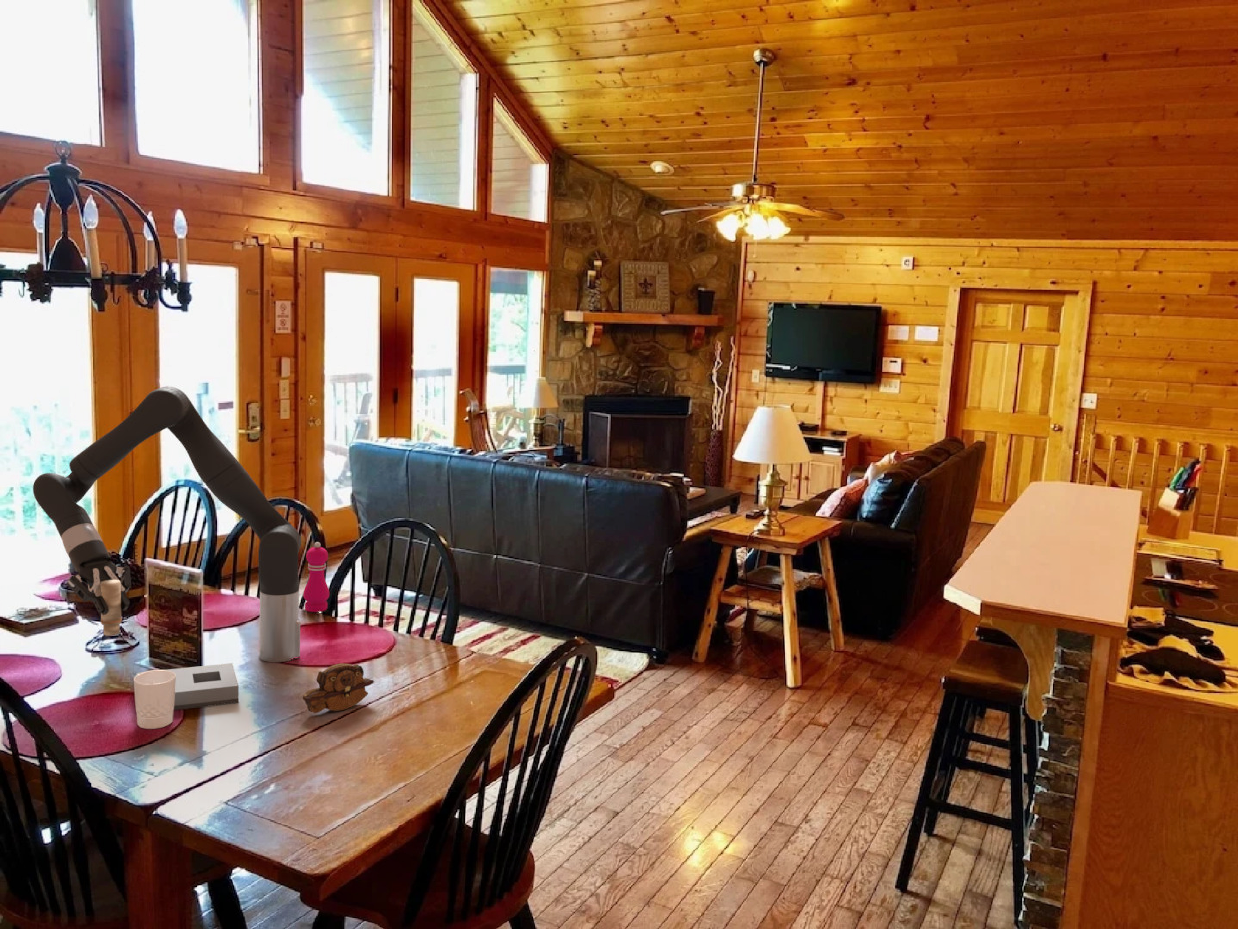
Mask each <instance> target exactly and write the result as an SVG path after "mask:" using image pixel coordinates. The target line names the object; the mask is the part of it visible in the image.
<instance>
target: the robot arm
mask: <svg viewBox="0 0 1238 929" xmlns="http://www.w3.org/2000/svg"><path fill="white" fill-rule="evenodd" d="M165 429H167V430H169V432H171V433H172V435H173V436H175V438H176V439H177V440H178V441H179V442H180V444H181V445H182V447H183V448H184V449H185V452H186V453H187V454H188V456H189V460H190V461H191V463H192V466H193V468H194V469H195V471H196V473H197V474H198V476H199V478H200V479H201V481H202V482H203V483H204V484H205V486H206V487H207V488H208V489H209V490H210V492H211V493H212V494H213V495H214V496H215V497H216V498H217V499H218V501H220V503H221V504H223V505H224V506H225V507H226V508H228V509H229V510H231V511H233V513H235V514H237V515H238V516H239V517H241V518H242V519H243V520H244V521H245V522H246V523H247V524H248V525H249V528H251V529H252V531H254V532H253V533H255V535H256V536H257V537H258V539H259V541H260V542H259V543H258V544H259V545H258V552H257V553H258V555H257V556H258V559H257V560H258V562H257V563H258V582H259V639H258V640H259V643H258V644H259V645H258V646H259V647H258V648H259V649H258V650H259V651H258V652H259V654H258V656H259V659H260V660H261V661H264V662H267V663H268V662H269V663H282V662H283V663H285V662H288V661H289V662H290V661H291V660H290V659H292V658H294V657H299V656H300V657H301V655H300V654H301V652H300V651H301V621H300V619H299V618H300V616H299V614H300V605H299V604H300V578H299V552H300V549H301V545H302V539H301V536H300V534H299V531H298V530H297V529H296V527H294V525H292V524H291V523H290V522H289V521H288V520H287V519H286V517H284V516H283V515H282V514H281V513H280V512H279V511H278V510H277V509H276V508H275V507H274V506H273V505H272V504H271V503H270V501H269V500H268V499H267V498H266V496H265V494H264V492H262V490H261V489H260V487H259V486H258V485H257V484H256V482H255V481H254V479H253V478H252V476H250V474H249V473H248V471H246V469H245V468H244V467H243V466H242V464H241V463H240V462H239V461H238V459H237V458H236V457H235V456H234V455H233V453H232V452H231V451H230V450H229V449H228V447H226V445H225V444H224V443H223V442H222V441H221V440H220V439H219V437H218V436H216V435H215V433H213V432H212V430H211V429H210V428H209V427H208V425H207V424H206V423H205V421H204V420H203V418H202V416H201V415H200V414H199V412H198V411H197V409H196V407H195V406H194V404H193V402H192V401H191V400H190V398H189V397H188V395H187V394H186V393H185V392H184V391H183V390H181V389H179V388H177V387H174V386H168V385H167V386H163V387H159V388H156V389H153V390H152V391H151V392H149V393H148V394H147V395H146V397H145V398H144V399H143V400H142V401H141V402H140V403H139V404H138V406H137V407H136V408H135V409H134V410H133V411H132V412H131V413H130V414H129V415H128V416H127V417H126V418H125V419H124V420H122V422H120V423H119V424H118V425H116V427H114V428H113V429H111V430H110V431H109V432H107V433H106V434H104V435H103V436H102V437H100V438H98V439H97V440H95V441H94V442H93V443H91V444H90V445H89V446H88V447H86V448H85V449H84V450H82V451H81V452H80V453H78V454H77V455H76V456H75V457H73V458H72V459H71V460H70V461H69V465H68V466H69V469H70V471H71V472H70V474H68V475H67V476H64V475H60V474H57V473H54V472H46V473H42V474H41V475H40V474H39V476H37V478H36V479H35V480H34V482H33V486H32V492H33V495H34V498H35V501H36V502H37V504H38V505H39V507H40V509H42V510H43V512H44V513H45V514H46V516H47V517H48V518H49V519H51V521H52V523H54V526H55V528H56V530H57V532H58V535H59V536H60V538H61V540H62V545H63V547H64V550H65V552H66V554H67V555H68V558H69V560H70V562H71V565H72V566H73V568H74V570H75V572H76V573H77V574H76V575H71V576H70V577H69V579H68V580H67V582H66V585H67V587H68V588H70V589H71V591H73V592H74V593H75V594H76V595H77V597H78V598H79V599H81V601H83V602H87V601H88V602H89V601H91V602H92V603H93V604H94V605H95V606H94V607H95V608H96V610H97V612H98V613H99V614H100V615H101V614H102V615H106V614H107V613H108V611H109V608H108V606H107V604H106V602H105V600H104V598H103V597H101V589H100V583H101V582H102V581H105V580H119V581H120V582H121V611H127V610H128V608H129V607H130V604H131V603H130V599H129V598H128V596H127V594H126V593H127V592H129V590H130V589H131V587H132V578H131V568H130V566H129V565H124V566H123V567H120V566H117V565H116V564H115V563H113V561H112V558H111V554H110V553H109V551H108V549H107V548H106V545H105V543H104V541H103V539H102V537H101V534H100V533H99V531H98V530H97V529H96V527H95V525H94V523H93V522H92V520H91V518H90V516H89V513H88V512H87V510H86V509H85V508H84V507H82V506H81V505H79V504H77V503H79V502H80V501H81V500H82V499H83V498H84V497H85V496H86V494H87V493H88V492H89V490H90V489H91V488H92V486H93V485H94V483H95V482H96V481H98V480H99V479H100V478H101V477H103V476H104V475H105V474H106V473H108V472H109V471H111V470H112V469H113V468H114V467H115V466H116V465H117V464H119V463H120V462H121V461H122V460H124V459H125V458H126V456H128V455H129V454H130V453H131V452H132V451H133V450H134V449H135V448H137V447H138V446H139V445H140V444H142V443H143V442H145V441H146V440H148V439H149V438H150V437H152V436H154V435H156V434H158V433H160V432H162V431H163V430H165ZM116 574H118V577H119V578H120V579H119V578H118V577H117V576H116ZM85 584H86V585H87V586H88V587H87V586H86V585H85ZM292 660H293V659H292Z"/></svg>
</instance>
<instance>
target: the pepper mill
mask: <svg viewBox="0 0 1238 929" xmlns="http://www.w3.org/2000/svg"><path fill="white" fill-rule="evenodd" d="M305 554H306V556H305V557H306V558H305V559H306V561H307V562H308V563H307V569H308V570H309V571H308V572H309V576H308V581H307V582H306V585H305V587H304V589H303V594H302V595H303V599H304V600H305V603H304V610H305V611H306V612H309V613H319V612H324V611H326V610H327V609H328V601H327V600H328V599H329V597H330V589H329V586H328V584H327V582H326V579H325V570H326V569H327V566H326V565H327V563H326V562H327V560H329V559H328V558H329V553H328V550H326V549H325V547H322V545H321V542H319V541H316V542H315V543H314V547H313V546H312V547H310V548H309V549H308V550H307V551H306V553H305Z"/></svg>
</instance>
